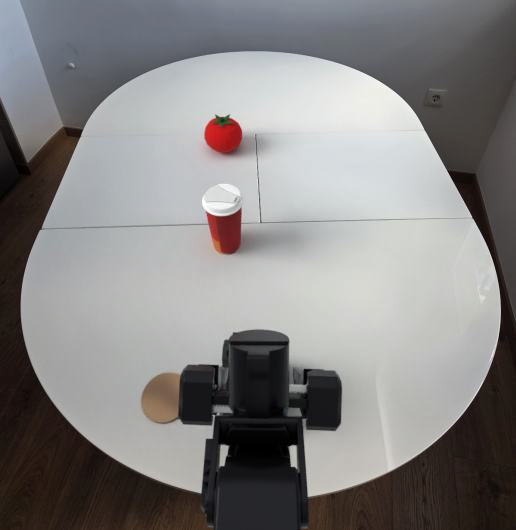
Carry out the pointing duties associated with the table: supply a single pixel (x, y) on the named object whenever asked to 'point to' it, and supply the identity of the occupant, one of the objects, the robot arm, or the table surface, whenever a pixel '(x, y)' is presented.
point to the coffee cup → (224, 217)
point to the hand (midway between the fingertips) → (260, 368)
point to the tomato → (223, 134)
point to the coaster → (161, 398)
